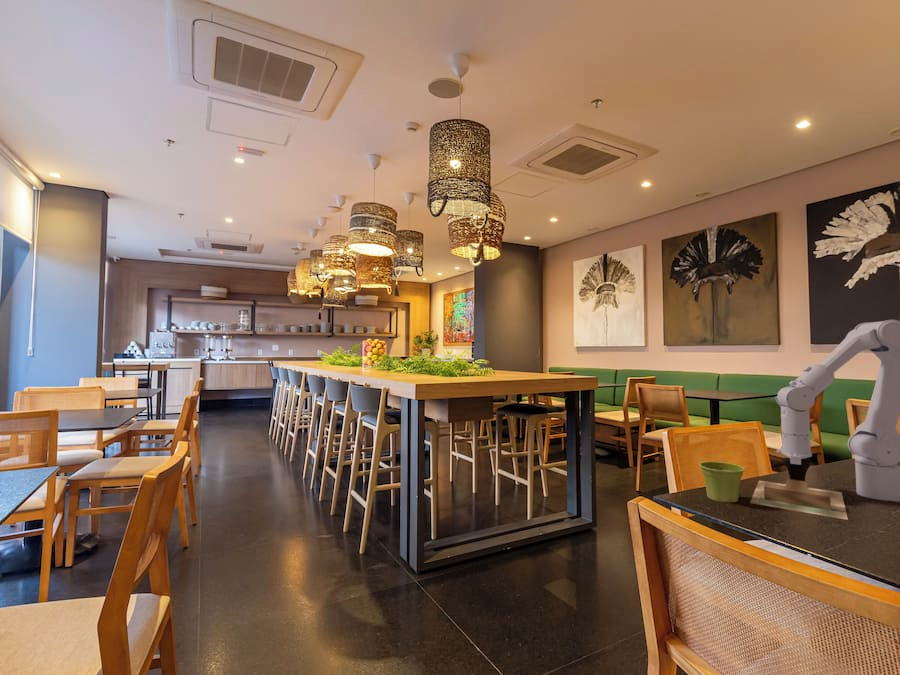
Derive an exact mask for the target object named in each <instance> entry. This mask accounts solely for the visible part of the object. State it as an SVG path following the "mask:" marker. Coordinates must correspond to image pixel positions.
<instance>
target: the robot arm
mask: <svg viewBox="0 0 900 675" xmlns="http://www.w3.org/2000/svg"><path fill="white" fill-rule="evenodd" d="M867 350H868V351H869V352H871V353H873V354H874V355H875V356H876V357H877V358H878V359H879V360H880V362H881V363H880V365H879V370H878V374H877V378H876V381H875V385H874V387H873V392H872V396H871V399H870V402H869V405H868V410H867V413H866V417H865V420H864V421H863V422H862V423H860V424H859V425H857V426H856V428H855V431H854V433H853V434H852V435H851V436H850V437H849V438H848V440H847V448H848V450H849V452H850V453H851V454H853V455H854V458H853V459H854V465H855V466H854V467H855V484H856V485H855V487H856V488H855V490H856V491H855V492H856V494H857V495H858V496H861V497H865V498H867V499H873V500H879V501H887V502H888V501H890V502H896V503H897V502H898V503H900V465H898V464H899V463H900V432H899V431H898V430H897V424H898V421H899V418H900V320H898V319H888V320H887V319H886V320H882V321H873V322H861V323H859V324H858V325H856V326H855V327H854V329H851V330H850V331H849V332H848V333H847V334H846V336H845V338H844V339H843V340H842V341H841V342H840V343H839V344H838V345H837V346H836V347H835V348H834V349H833V350H832V351H831V353H829V355H827V356H826V357H825V359H823V361H822V362H820V364H811V365H809V366H804V368H802V371H803V372H802V373H801V374H800V375H799V376H798V377H797V378H795V379H794V380H791V381H790V382H789V386H786V387H785V386H784V387H783V388H781V389H780V390H778V392H777V396H775V398H774V399H775V402H776V403H777V405H778V406H779V407H780V422H781V423H780V427H781V449H780V448H776V453H778V454H782V455H784V456H786V457H783V458H782V463H783V465H784V466H785V467H786V471H787V474H788V478H789V479H791V480H799V481H806V475H807V472H808V469H809V468H810V466H811V465H812V459H809V458H811V457H813V454H812V452H811V450H812V449H811V430H810V429H811V428H810V427H811V426H810V408H812V407H814V405H815V402H816V400H815V398H816V397H817V396H818V395H819V394H821V393H822V392H823V391H824V390H826V388H827V387H828V386H830V384H832V383H833V382H834V381H835V373H836V372H837V371H838V370H840V368H842V367H843V366H844V365H846V364H847V363H848V362H849V361H851V360H852V359H853V358H854V357H856V356H857V355H858V354H859V353H860V352H863V351H867Z"/></svg>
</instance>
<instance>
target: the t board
mask: <svg viewBox="0 0 900 675" xmlns="http://www.w3.org/2000/svg"><path fill="white" fill-rule="evenodd" d="M765 483H769V484H776V485H782V486H786V483H779V482H773V481H764V480H758V483H757V484H756V487H755V489H754V492H753V494H752V497H751V498H750V502H749V504H754V505H760V506H766V507H771V508H778V509H783V510H788V511H795V512H798V513H799V512H800V513H806V514H812V515H818V516H824V517H827V518H833V519H841V520H846V521H848V520H849V519H848V514H847V509H846V506H845V501H844V497H843V493H842V491H841V492H840V491H834V490H828V489H820V488H814V487H808V489H809V490H816V491H823V492H830V503H831V510H825V509H819V508H813V507H807V506H801V505H795V504H789V503H783V502H777V501H771V500H765V499H764V485H765Z"/></svg>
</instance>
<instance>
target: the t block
mask: <svg viewBox="0 0 900 675" xmlns="http://www.w3.org/2000/svg"><path fill="white" fill-rule="evenodd" d="M808 483H809V482H808V481H806V480H805V481H799V480H791V479H790V478H787V479H786V483H785V484H786V486H782V485H776V484H769V483H765V485H764V499H765V500H771V501H777V502H783V503H789V504H795V505H801V506H807V507H813V508H819V509H825V510H831V503H830V492H823V491H816V490H809V489H808V488H809V485H808Z"/></svg>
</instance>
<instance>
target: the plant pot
mask: <svg viewBox="0 0 900 675" xmlns="http://www.w3.org/2000/svg"><path fill="white" fill-rule="evenodd" d="M698 466H699V467H700V469H701V472H702V474H703V478H704V479H703V480H704V484H705V490H706V497H707V498H708V499H711V500H713V501H717V502H721V503H722V502H723V503H737V502H738V501H739V496H740V495H739V494H740V487H741V479H742V477H743V475H744V474H743V473H744V472H745V471H746V469H745V467H744V466H741V465H738V464H734V463H731V462H723V461H702V462H699V464H698Z"/></svg>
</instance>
